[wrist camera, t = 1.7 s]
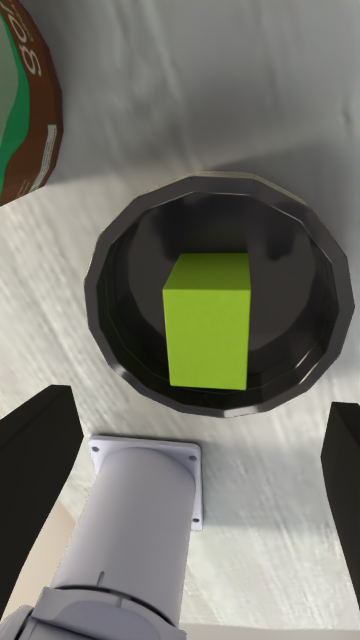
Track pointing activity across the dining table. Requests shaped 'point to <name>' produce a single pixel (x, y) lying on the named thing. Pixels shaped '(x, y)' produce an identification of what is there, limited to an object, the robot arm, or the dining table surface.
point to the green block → (208, 320)
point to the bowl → (265, 279)
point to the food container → (26, 105)
